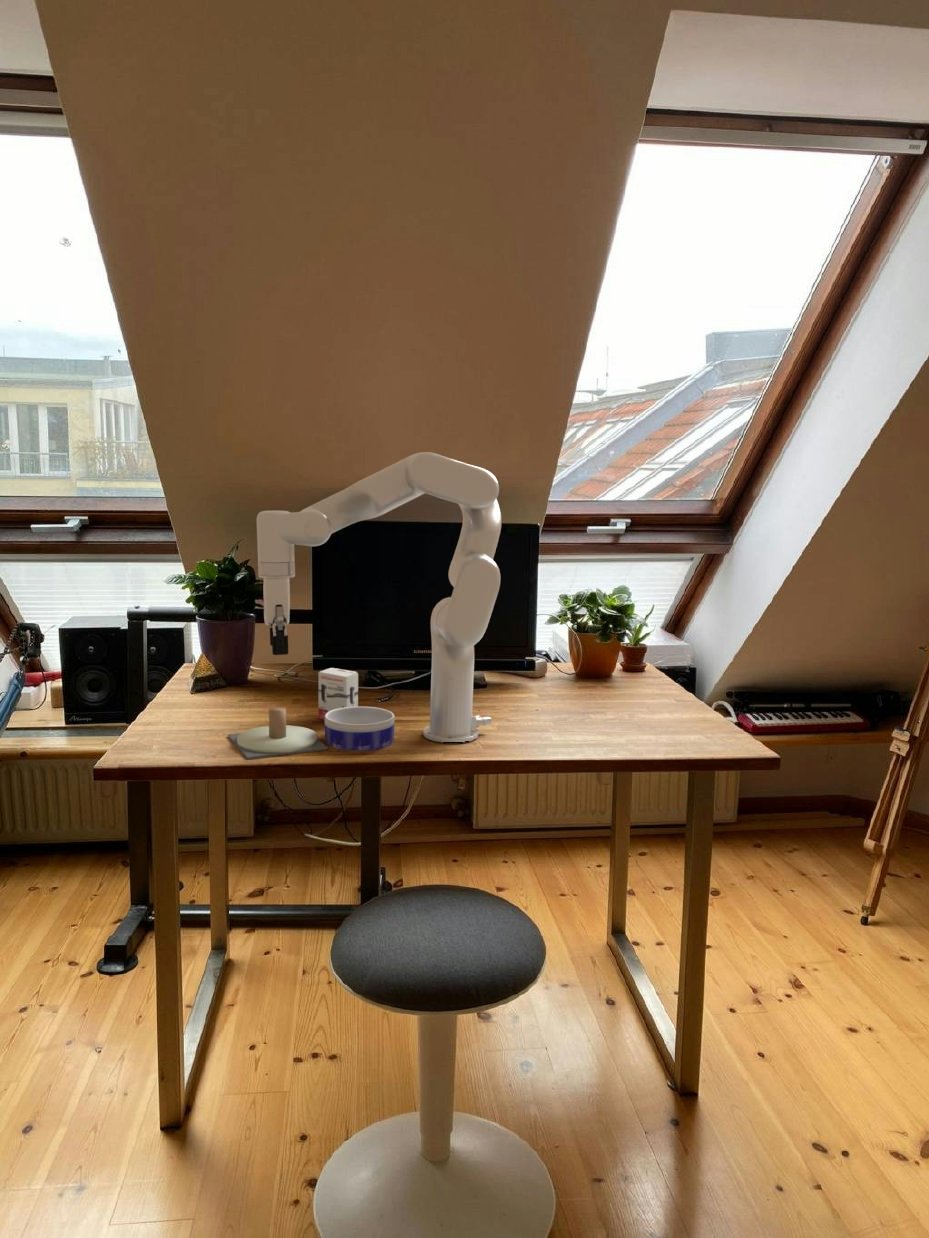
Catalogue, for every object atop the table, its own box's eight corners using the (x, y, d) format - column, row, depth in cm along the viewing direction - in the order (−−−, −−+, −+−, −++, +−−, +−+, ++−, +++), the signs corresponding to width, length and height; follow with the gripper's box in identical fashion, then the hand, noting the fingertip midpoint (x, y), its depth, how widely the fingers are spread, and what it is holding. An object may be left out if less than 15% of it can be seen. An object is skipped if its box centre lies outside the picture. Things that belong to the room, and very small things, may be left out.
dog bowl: (321, 732, 196) (321, 706, 195) (388, 729, 200) (388, 704, 199) (327, 753, 182) (328, 725, 181) (399, 750, 186) (400, 723, 185)
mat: (302, 728, 198) (302, 726, 198) (327, 749, 184) (327, 747, 184) (227, 736, 190) (227, 734, 190) (247, 759, 176) (247, 757, 176)
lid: (302, 726, 198) (302, 696, 197) (328, 747, 184) (329, 715, 183) (228, 734, 190) (227, 704, 189) (249, 757, 176) (249, 724, 174)
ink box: (317, 718, 207) (317, 670, 205) (330, 714, 211) (330, 667, 209) (346, 724, 202) (346, 675, 200) (358, 720, 207) (359, 671, 205)
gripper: (256, 566, 188) (259, 643, 191) (259, 575, 172) (262, 659, 175) (291, 565, 190) (294, 641, 193) (298, 574, 174) (300, 657, 177)
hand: (279, 649), depth 184 cm, fingers open, 9 cm apart
